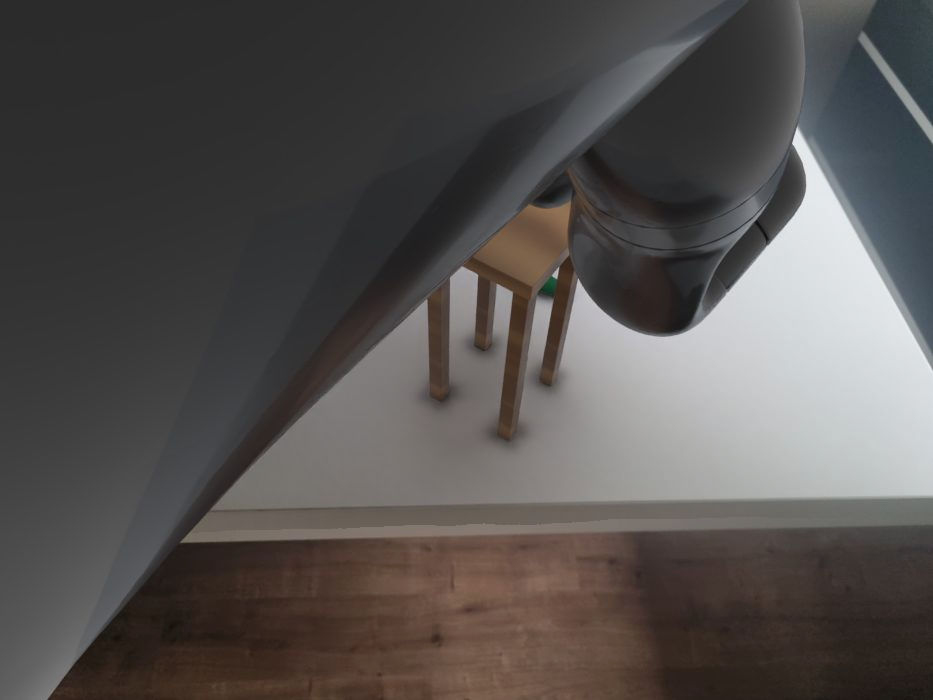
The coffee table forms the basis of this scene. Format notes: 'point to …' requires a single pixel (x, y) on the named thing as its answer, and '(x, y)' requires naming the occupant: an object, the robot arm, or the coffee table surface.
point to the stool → (524, 273)
